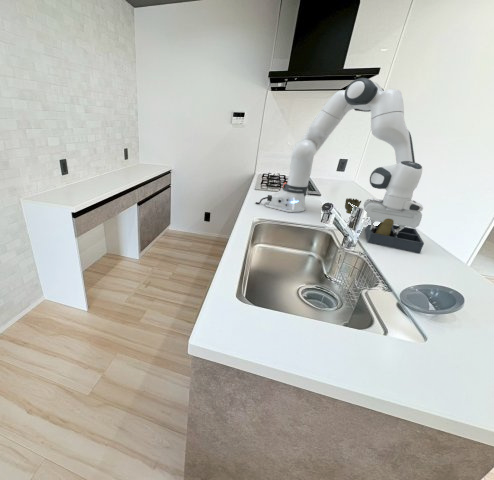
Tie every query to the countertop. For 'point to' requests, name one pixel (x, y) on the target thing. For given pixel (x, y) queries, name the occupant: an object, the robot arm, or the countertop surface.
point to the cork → (385, 227)
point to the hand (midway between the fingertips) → (383, 231)
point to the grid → (397, 239)
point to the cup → (348, 206)
